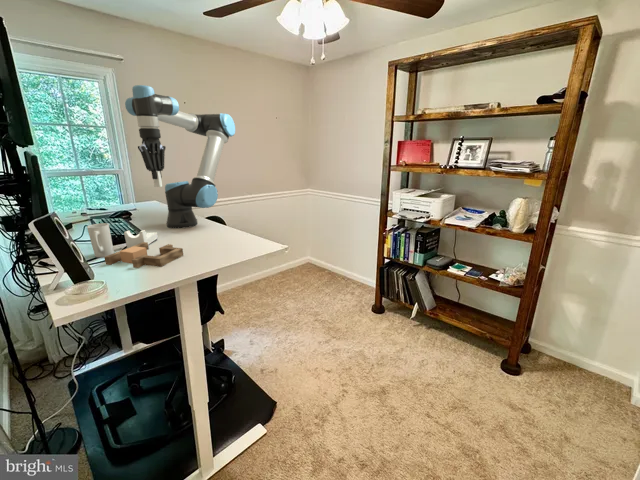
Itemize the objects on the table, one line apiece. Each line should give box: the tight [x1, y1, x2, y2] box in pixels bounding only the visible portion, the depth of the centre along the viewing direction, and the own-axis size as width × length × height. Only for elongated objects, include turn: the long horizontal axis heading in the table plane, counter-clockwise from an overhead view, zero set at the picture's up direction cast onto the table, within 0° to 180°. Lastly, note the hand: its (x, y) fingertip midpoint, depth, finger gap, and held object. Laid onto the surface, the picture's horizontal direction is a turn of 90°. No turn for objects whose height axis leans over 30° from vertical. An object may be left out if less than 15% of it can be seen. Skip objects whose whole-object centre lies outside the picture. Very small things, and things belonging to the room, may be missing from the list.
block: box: [119, 246, 148, 265], centre depth 113 cm, size 6×6×4 cm
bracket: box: [123, 229, 159, 249], centre depth 131 cm, size 13×7×8 cm, turn 6°
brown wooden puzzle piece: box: [103, 242, 184, 269], centre depth 115 cm, size 18×21×3 cm
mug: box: [86, 222, 115, 258], centre depth 116 cm, size 10×7×12 cm, turn 22°
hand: (158, 186), depth 129 cm, fingers closed
